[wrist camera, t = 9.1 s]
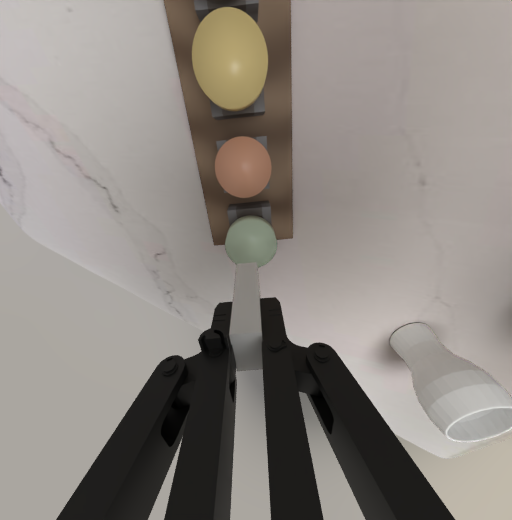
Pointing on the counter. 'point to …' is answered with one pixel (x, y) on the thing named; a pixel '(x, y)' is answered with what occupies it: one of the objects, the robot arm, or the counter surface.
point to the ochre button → (230, 58)
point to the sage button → (251, 241)
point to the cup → (453, 387)
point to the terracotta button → (243, 167)
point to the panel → (241, 114)
